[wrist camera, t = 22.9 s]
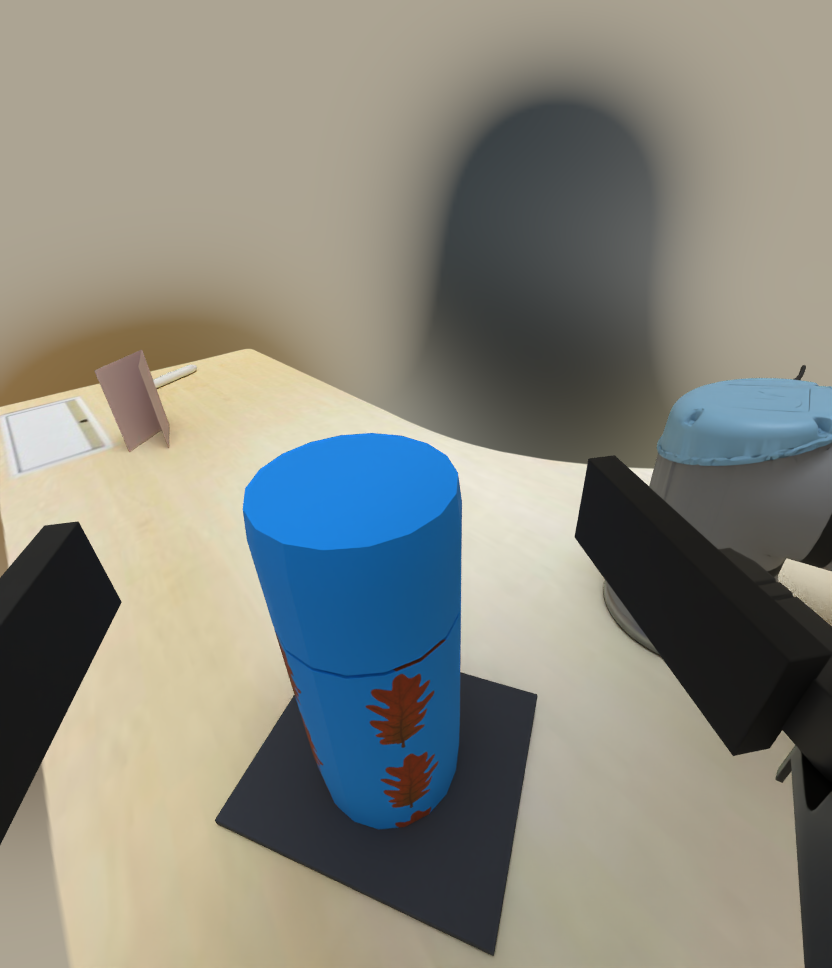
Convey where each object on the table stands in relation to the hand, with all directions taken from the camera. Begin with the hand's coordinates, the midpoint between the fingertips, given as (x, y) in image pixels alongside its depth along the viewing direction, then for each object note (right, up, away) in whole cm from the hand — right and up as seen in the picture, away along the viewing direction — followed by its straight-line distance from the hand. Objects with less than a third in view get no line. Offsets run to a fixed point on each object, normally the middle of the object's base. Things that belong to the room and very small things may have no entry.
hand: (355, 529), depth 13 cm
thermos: (0, -20, +24) cm, 31 cm away
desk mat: (0, -20, +24) cm, 31 cm away
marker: (-59, +26, +103) cm, 121 cm away
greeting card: (-46, +10, +75) cm, 89 cm away
